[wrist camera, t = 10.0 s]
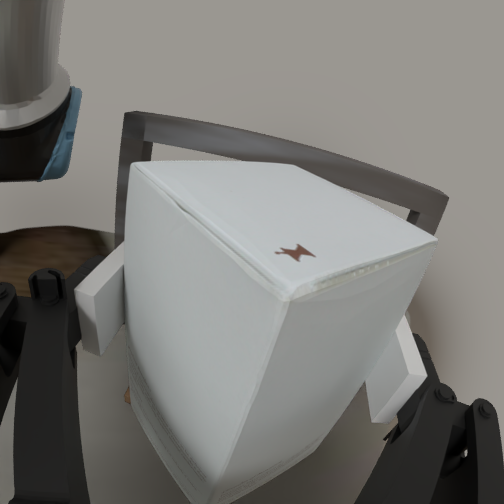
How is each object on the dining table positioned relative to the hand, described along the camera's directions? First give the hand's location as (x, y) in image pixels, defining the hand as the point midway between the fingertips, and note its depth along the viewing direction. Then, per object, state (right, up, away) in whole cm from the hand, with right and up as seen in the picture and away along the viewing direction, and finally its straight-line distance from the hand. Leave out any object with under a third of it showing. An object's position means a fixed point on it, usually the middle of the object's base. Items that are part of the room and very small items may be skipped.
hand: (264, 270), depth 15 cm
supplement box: (-2, -9, 0) cm, 9 cm away
